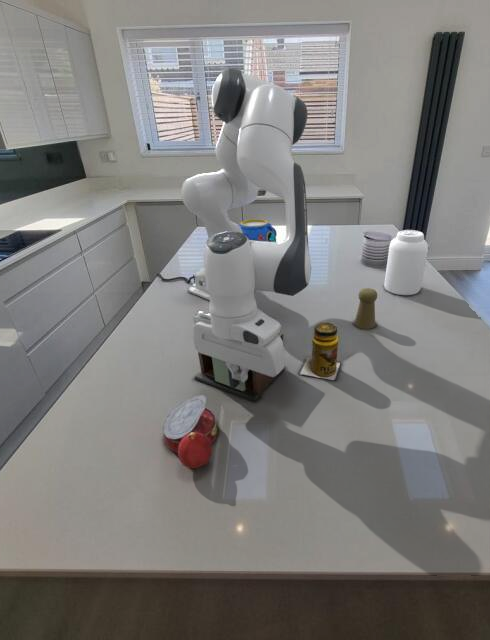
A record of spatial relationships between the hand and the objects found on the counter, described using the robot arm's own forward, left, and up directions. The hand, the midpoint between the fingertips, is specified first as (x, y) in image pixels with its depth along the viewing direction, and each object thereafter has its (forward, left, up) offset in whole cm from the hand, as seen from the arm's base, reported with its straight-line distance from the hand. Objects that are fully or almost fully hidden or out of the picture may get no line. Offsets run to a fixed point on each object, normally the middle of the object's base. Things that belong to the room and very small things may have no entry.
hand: (240, 378), depth 78 cm
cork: (+12, +46, -6) cm, 48 cm away
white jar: (+15, +77, -6) cm, 79 cm away
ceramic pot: (-50, +82, -6) cm, 96 cm away
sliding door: (-5, +1, -5) cm, 7 cm away
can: (-2, +99, -6) cm, 99 cm away
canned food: (-3, -13, -6) cm, 15 cm away
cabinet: (-6, +9, -6) cm, 12 cm away
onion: (+3, -18, -6) cm, 19 cm away
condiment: (+10, +19, -6) cm, 22 cm away
